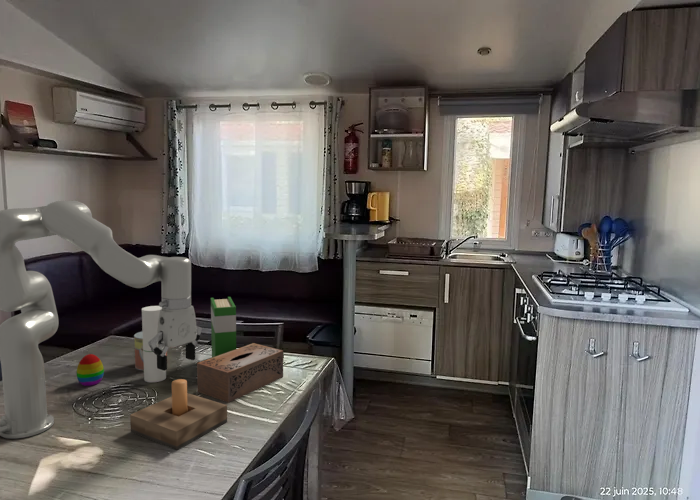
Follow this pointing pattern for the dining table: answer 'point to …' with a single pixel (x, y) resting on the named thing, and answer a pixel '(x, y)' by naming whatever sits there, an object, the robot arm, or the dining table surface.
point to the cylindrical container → (150, 359)
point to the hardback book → (223, 326)
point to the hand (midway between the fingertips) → (176, 364)
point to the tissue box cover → (239, 371)
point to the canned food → (139, 351)
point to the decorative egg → (90, 370)
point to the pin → (179, 397)
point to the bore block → (178, 421)
